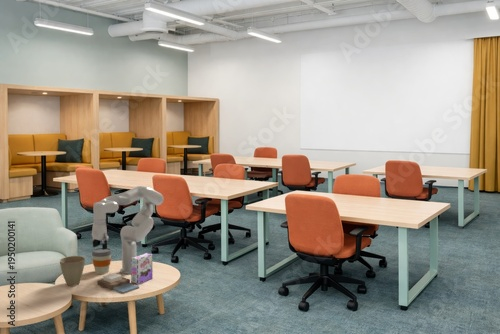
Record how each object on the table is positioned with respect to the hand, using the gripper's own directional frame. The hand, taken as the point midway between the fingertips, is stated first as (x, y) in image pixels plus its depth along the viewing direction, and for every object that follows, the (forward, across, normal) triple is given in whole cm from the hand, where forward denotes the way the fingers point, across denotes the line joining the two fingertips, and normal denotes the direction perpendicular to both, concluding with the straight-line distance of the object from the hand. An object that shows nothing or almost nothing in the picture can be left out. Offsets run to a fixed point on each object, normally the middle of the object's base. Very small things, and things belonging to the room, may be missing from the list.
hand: (100, 248), depth 292 cm
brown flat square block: (+22, +13, +1) cm, 25 cm away
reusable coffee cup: (+22, -14, +12) cm, 28 cm away
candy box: (+22, +21, +17) cm, 34 cm away
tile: (+18, +12, +1) cm, 22 cm away
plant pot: (+22, -8, -14) cm, 27 cm away
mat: (+22, +25, +1) cm, 33 cm away
